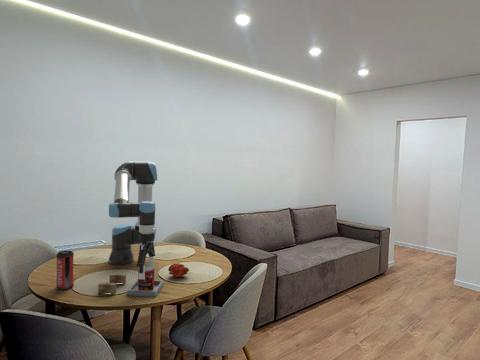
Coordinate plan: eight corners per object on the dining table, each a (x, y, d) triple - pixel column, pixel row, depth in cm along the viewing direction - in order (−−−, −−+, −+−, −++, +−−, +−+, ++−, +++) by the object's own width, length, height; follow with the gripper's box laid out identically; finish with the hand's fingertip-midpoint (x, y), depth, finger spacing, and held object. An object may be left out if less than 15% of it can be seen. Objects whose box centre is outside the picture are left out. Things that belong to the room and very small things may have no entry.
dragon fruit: (166, 278, 176) (187, 282, 176) (165, 274, 169) (187, 278, 169) (170, 264, 180) (190, 267, 181) (169, 259, 173) (190, 262, 174)
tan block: (98, 294, 149) (98, 284, 149) (111, 282, 163) (111, 273, 163) (114, 294, 149) (114, 284, 149) (126, 283, 163) (126, 274, 163)
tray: (126, 295, 149) (126, 290, 149) (137, 284, 163) (137, 279, 163) (155, 296, 148) (155, 291, 148) (163, 285, 162) (163, 280, 162)
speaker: (77, 285, 159) (77, 250, 158) (65, 291, 151) (65, 255, 150) (64, 283, 160) (64, 249, 159) (52, 289, 153) (52, 253, 152)
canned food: (136, 292, 151) (136, 270, 151) (140, 285, 159) (140, 264, 159) (152, 292, 152) (152, 270, 151) (155, 285, 160) (155, 264, 159)
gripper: (146, 239, 141) (145, 284, 143) (161, 227, 166) (160, 265, 168) (129, 238, 142) (129, 283, 143) (147, 226, 166) (147, 264, 168)
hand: (146, 273), depth 155 cm, fingers open, 13 cm apart
